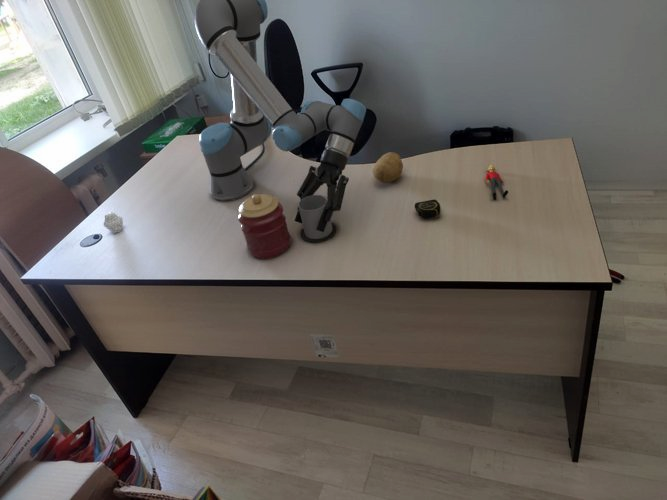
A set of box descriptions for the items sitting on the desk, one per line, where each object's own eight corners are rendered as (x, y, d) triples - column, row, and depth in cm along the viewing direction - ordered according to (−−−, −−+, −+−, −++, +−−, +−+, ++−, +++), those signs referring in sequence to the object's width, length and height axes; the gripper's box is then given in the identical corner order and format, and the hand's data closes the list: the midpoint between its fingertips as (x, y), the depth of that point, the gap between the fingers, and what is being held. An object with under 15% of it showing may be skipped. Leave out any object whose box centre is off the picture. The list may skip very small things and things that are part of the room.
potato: (408, 169, 165) (406, 147, 160) (397, 190, 155) (396, 168, 150) (381, 167, 169) (379, 147, 164) (369, 188, 158) (366, 167, 154)
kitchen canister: (274, 264, 134) (258, 211, 123) (239, 254, 140) (222, 203, 129) (300, 237, 142) (287, 186, 131) (266, 229, 148) (252, 180, 138)
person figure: (493, 187, 139) (485, 158, 153) (488, 198, 142) (481, 169, 156) (510, 191, 139) (501, 161, 153) (505, 202, 142) (496, 172, 156)
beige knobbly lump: (108, 229, 164) (99, 212, 160) (126, 222, 166) (117, 206, 161) (108, 237, 159) (99, 220, 155) (127, 231, 161) (118, 214, 157)
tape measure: (437, 207, 143) (436, 196, 141) (443, 219, 138) (443, 208, 136) (414, 211, 144) (414, 200, 141) (420, 223, 138) (419, 212, 136)
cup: (336, 223, 144) (330, 195, 138) (327, 239, 138) (321, 211, 132) (310, 222, 147) (304, 194, 141) (300, 238, 141) (293, 209, 135)
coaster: (297, 227, 146) (296, 226, 146) (331, 217, 148) (331, 216, 148) (305, 247, 138) (304, 245, 138) (341, 236, 139) (340, 235, 139)
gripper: (371, 164, 134) (342, 239, 135) (318, 151, 147) (292, 219, 148) (357, 155, 128) (327, 234, 129) (303, 142, 141) (275, 213, 142)
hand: (308, 226), depth 139 cm, fingers closed on cup, 8 cm apart
